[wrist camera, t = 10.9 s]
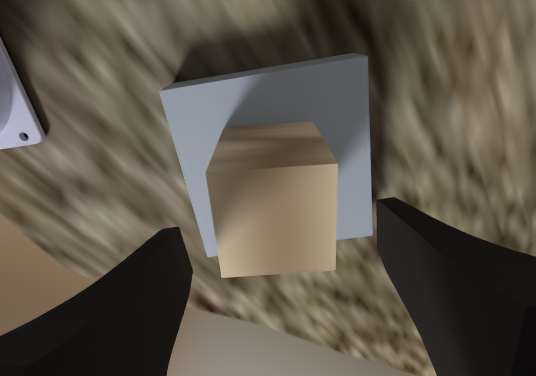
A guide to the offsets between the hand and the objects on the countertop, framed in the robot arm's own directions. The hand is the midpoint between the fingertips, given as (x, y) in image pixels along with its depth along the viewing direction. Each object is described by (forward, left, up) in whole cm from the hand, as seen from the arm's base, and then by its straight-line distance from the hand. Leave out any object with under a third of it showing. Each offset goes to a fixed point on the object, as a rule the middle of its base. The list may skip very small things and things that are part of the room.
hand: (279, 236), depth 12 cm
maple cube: (0, 0, -6) cm, 6 cm away
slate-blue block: (0, 0, -9) cm, 9 cm away
